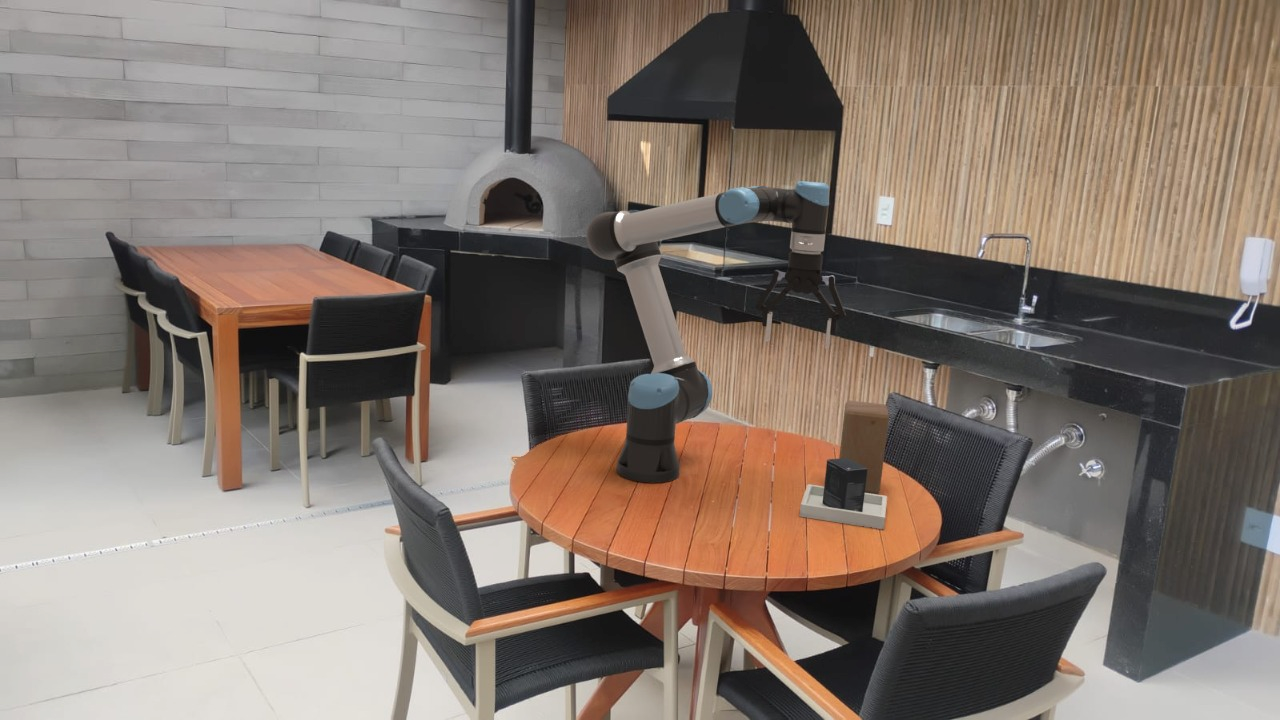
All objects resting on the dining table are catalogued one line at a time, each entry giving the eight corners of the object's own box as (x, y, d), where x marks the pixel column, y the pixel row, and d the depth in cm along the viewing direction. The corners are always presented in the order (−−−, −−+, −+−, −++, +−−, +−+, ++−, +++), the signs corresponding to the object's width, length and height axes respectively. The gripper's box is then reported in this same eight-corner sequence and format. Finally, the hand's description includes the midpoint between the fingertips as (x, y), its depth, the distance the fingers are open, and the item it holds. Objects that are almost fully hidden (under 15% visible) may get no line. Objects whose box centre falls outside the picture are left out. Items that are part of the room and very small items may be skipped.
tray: (799, 516, 216) (800, 504, 215) (806, 495, 229) (807, 484, 228) (883, 529, 211) (885, 517, 211) (885, 507, 225) (887, 496, 224)
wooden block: (879, 496, 232) (889, 414, 228) (836, 490, 234) (845, 409, 229) (878, 482, 242) (887, 403, 237) (836, 477, 243) (845, 399, 239)
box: (862, 513, 218) (868, 468, 215) (841, 516, 215) (847, 470, 213) (842, 501, 225) (847, 456, 222) (821, 503, 222) (826, 458, 220)
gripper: (748, 248, 221) (740, 340, 225) (862, 258, 214) (851, 353, 219) (754, 245, 228) (745, 335, 232) (863, 255, 221) (853, 347, 226)
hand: (796, 344), depth 226 cm, fingers open, 13 cm apart
